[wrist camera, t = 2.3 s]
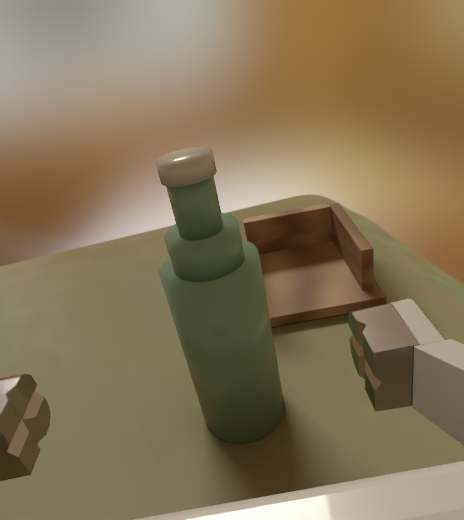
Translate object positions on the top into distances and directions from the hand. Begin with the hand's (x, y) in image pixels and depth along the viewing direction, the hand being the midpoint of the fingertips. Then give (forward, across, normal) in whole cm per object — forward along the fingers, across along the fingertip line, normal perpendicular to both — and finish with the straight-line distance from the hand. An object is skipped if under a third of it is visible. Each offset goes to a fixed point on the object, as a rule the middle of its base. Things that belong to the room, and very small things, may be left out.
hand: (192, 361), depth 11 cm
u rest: (+26, -7, +16) cm, 32 cm away
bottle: (+12, 0, +16) cm, 20 cm away
